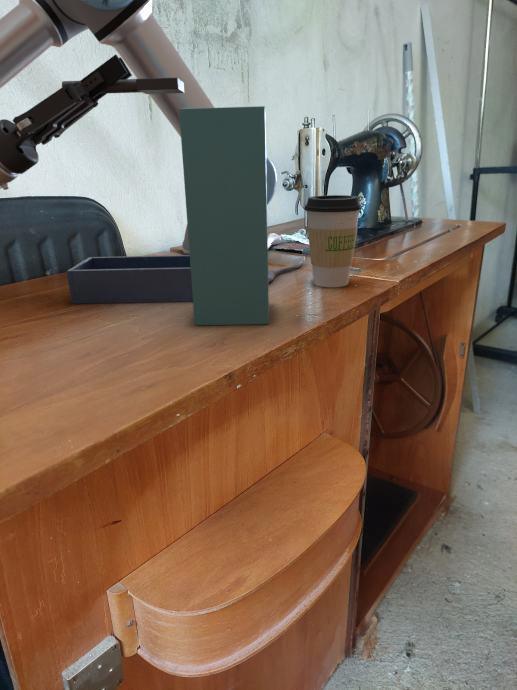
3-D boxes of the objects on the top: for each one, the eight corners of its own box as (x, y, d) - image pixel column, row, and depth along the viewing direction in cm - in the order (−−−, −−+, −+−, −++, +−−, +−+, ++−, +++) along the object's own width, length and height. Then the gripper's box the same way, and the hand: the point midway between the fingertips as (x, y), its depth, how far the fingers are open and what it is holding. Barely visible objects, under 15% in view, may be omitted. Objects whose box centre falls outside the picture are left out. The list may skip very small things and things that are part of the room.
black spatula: (184, 93, 80) (183, 80, 79) (178, 89, 74) (177, 75, 73) (72, 96, 80) (70, 83, 79) (57, 92, 74) (55, 78, 74)
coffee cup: (357, 290, 88) (361, 200, 83) (300, 289, 90) (300, 200, 85) (359, 277, 97) (362, 194, 92) (307, 276, 99) (307, 195, 94)
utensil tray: (214, 284, 95) (213, 254, 93) (208, 301, 85) (206, 268, 83) (93, 286, 96) (88, 257, 94) (71, 303, 85) (66, 271, 83)
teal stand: (268, 305, 81) (265, 110, 71) (268, 324, 73) (264, 106, 63) (202, 307, 81) (189, 113, 71) (194, 325, 73) (178, 108, 63)
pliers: (301, 257, 111) (301, 280, 92) (301, 261, 111) (301, 285, 92) (256, 258, 111) (247, 280, 93) (256, 262, 112) (247, 285, 93)
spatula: (270, 264, 108) (270, 251, 107) (251, 264, 108) (250, 251, 107) (281, 243, 134) (281, 232, 133) (266, 243, 134) (266, 232, 133)
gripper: (38, 173, 88) (149, 94, 84) (-5, 178, 75) (126, 83, 70) (8, 133, 86) (121, 49, 81) (-41, 130, 72) (92, 29, 68)
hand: (123, 65), depth 76 cm, fingers closed on black spatula, 2 cm apart
